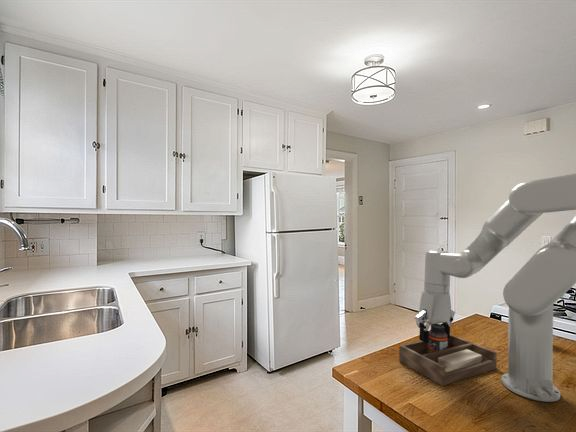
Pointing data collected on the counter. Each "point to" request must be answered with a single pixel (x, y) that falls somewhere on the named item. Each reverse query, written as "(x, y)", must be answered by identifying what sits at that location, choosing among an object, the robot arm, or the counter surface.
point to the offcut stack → (459, 360)
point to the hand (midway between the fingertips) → (434, 339)
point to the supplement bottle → (437, 338)
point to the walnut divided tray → (427, 363)
